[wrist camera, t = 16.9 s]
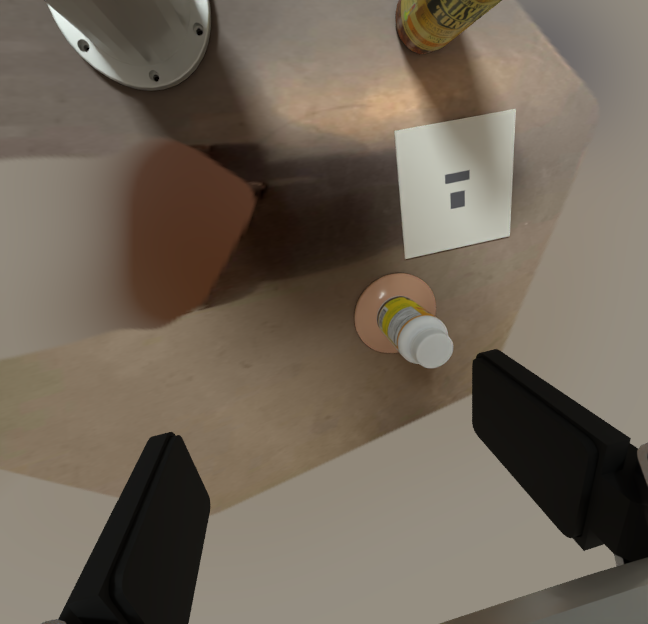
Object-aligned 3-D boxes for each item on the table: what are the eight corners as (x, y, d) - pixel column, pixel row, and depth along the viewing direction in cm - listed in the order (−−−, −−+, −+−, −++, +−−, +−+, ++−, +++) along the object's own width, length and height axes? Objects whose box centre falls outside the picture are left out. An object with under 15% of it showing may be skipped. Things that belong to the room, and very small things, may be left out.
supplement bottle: (421, 321, 41) (467, 359, 32) (384, 340, 41) (419, 385, 32) (407, 286, 39) (452, 316, 29) (368, 306, 39) (401, 343, 29)
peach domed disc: (348, 283, 38) (349, 284, 38) (431, 264, 39) (434, 265, 38) (360, 359, 42) (361, 361, 42) (435, 340, 43) (437, 342, 43)
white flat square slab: (394, 131, 33) (395, 130, 33) (514, 109, 34) (515, 108, 34) (404, 258, 38) (405, 259, 38) (508, 235, 39) (509, 236, 39)
